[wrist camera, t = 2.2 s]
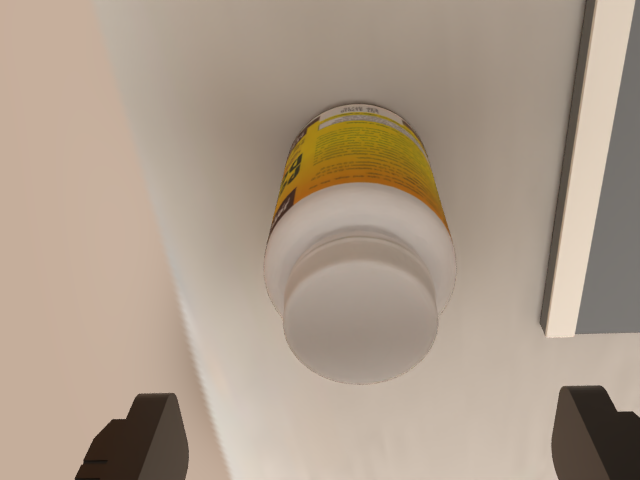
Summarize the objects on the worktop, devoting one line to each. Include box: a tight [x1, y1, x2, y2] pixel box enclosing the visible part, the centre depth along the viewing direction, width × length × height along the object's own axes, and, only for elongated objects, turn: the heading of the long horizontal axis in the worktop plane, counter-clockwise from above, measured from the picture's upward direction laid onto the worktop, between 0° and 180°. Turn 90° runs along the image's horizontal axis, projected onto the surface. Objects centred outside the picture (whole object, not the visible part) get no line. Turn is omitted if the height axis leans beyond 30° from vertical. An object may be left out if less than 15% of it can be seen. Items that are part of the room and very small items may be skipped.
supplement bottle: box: [264, 104, 456, 385], centre depth 20 cm, size 6×6×10 cm
